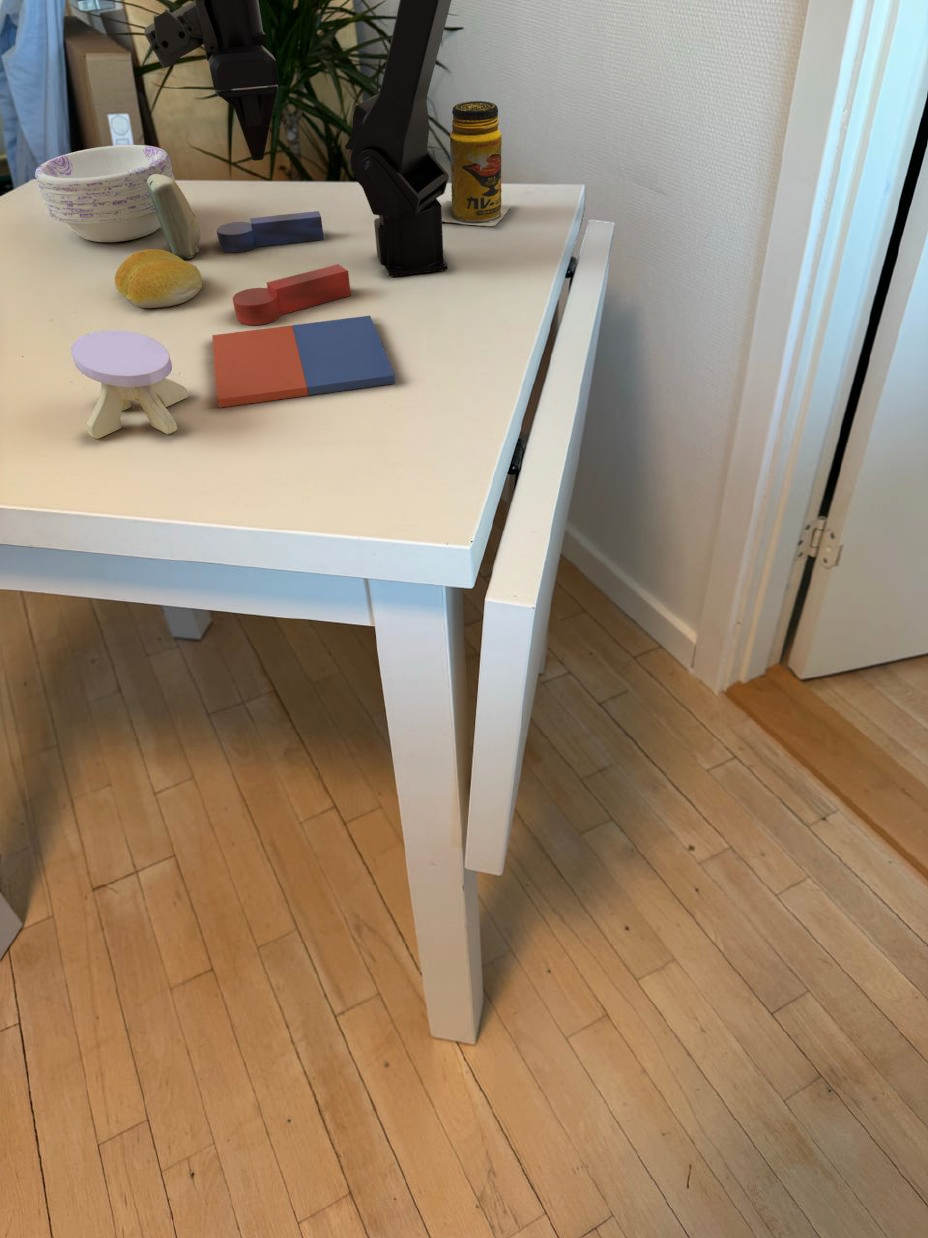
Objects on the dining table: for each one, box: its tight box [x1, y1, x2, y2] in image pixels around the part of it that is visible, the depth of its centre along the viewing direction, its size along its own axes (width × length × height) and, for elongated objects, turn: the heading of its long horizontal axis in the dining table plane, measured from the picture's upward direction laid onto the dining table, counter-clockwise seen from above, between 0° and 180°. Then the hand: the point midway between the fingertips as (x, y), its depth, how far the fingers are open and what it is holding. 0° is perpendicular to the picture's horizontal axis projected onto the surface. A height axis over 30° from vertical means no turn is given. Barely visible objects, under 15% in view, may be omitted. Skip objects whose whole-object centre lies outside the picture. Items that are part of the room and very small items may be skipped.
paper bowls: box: [34, 144, 176, 243], centre depth 104 cm, size 15×15×8 cm
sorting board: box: [211, 315, 396, 409], centre depth 78 cm, size 15×13×1 cm
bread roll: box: [114, 248, 203, 309], centre depth 90 cm, size 8×9×4 cm
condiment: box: [441, 100, 512, 227], centre depth 104 cm, size 7×8×12 cm
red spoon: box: [232, 263, 352, 326], centre depth 87 cm, size 12×4×3 cm, turn 124°
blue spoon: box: [216, 210, 325, 253], centre depth 101 cm, size 12×4×3 cm, turn 104°
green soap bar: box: [147, 174, 202, 261], centre depth 98 cm, size 6×5×8 cm
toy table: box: [70, 329, 189, 440], centre depth 70 cm, size 10×9×6 cm
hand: (254, 148), depth 94 cm, fingers open, 9 cm apart
